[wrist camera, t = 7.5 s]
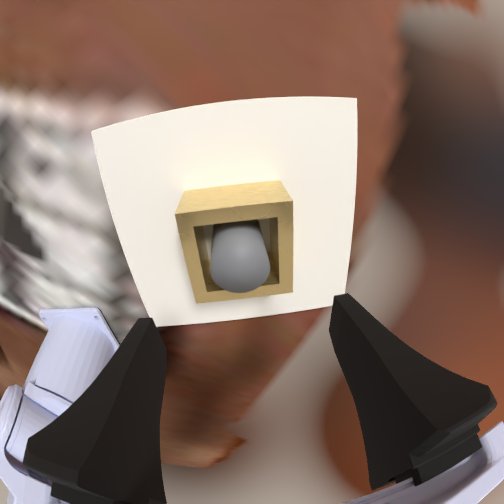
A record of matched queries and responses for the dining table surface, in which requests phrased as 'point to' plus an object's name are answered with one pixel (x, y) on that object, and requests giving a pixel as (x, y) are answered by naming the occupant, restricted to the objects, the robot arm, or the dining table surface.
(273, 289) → the wooden square ring
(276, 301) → the post stand
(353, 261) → the dining table surface
